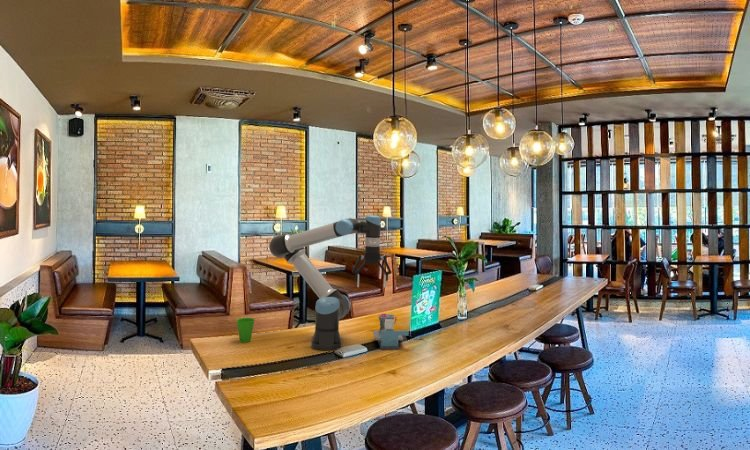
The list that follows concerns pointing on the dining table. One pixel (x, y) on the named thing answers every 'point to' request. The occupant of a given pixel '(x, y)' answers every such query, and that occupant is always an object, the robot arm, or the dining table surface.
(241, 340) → the cup
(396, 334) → the notched panel with ball
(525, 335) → the dining table surface
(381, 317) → the mug
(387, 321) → the grey rectangular block
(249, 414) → the dining table surface
